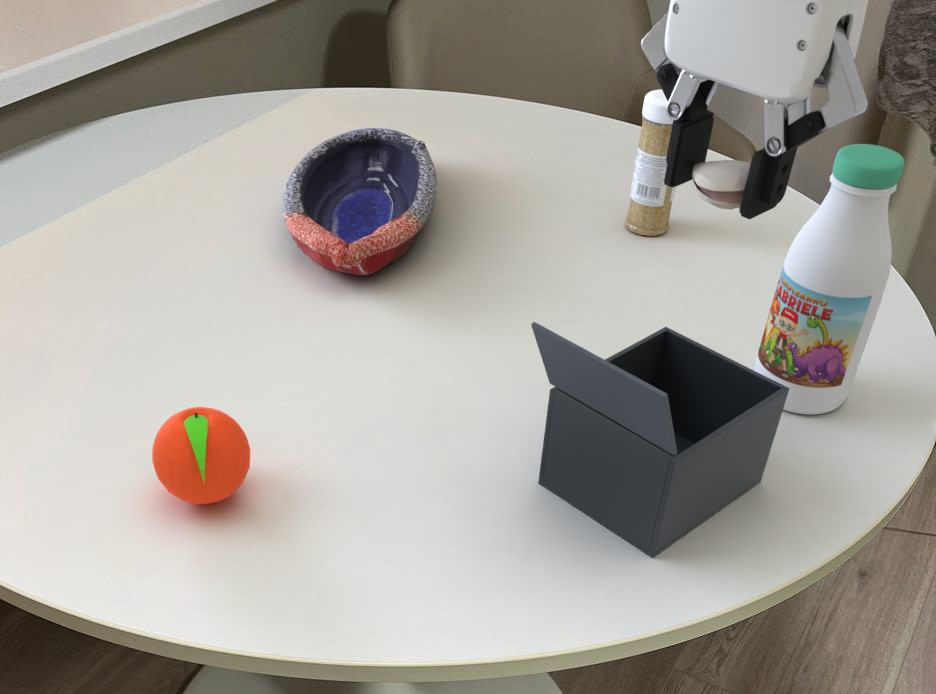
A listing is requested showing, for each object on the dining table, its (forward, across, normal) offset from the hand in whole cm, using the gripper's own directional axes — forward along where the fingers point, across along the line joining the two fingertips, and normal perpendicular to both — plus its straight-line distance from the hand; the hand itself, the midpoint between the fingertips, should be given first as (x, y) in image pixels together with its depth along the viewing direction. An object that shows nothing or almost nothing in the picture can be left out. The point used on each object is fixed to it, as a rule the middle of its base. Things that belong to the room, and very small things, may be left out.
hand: (720, 193), depth 66 cm
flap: (+10, -1, +10) cm, 14 cm away
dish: (+22, +46, -9) cm, 52 cm away
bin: (+22, -1, +2) cm, 22 cm away
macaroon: (+1, 0, 0) cm, 1 cm away
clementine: (+22, +19, +28) cm, 40 cm away
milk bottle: (+22, -1, -17) cm, 28 cm away
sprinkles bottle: (+22, +26, -31) cm, 46 cm away
